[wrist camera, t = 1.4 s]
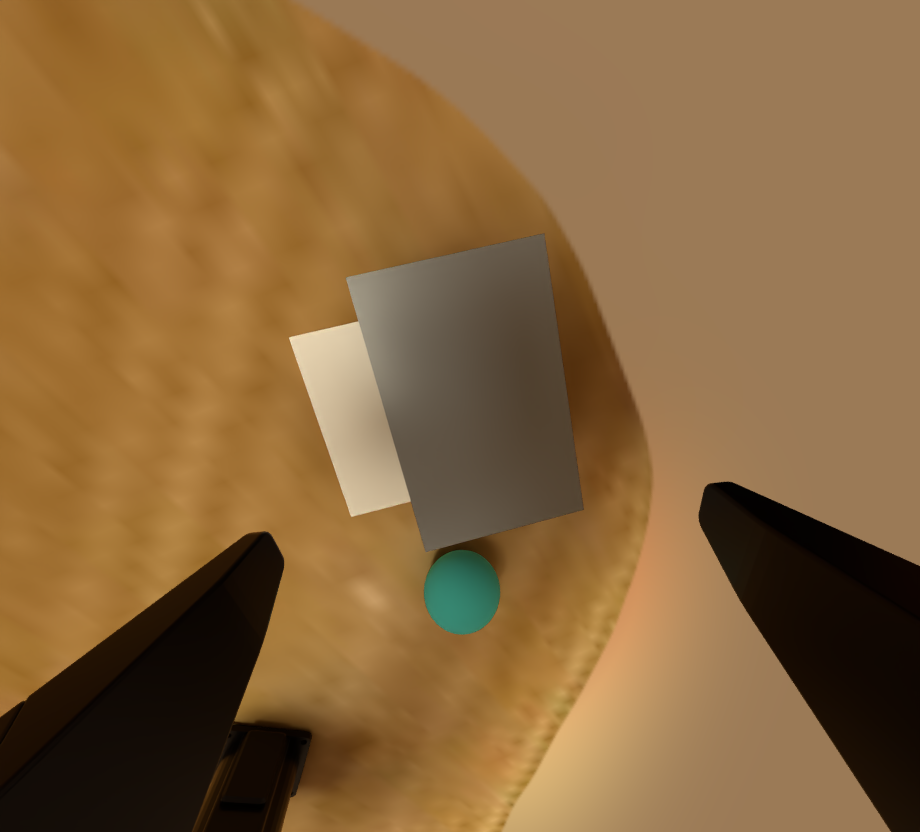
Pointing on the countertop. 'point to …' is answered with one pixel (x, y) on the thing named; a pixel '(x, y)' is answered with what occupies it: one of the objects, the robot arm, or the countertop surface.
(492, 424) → the gray rectangular prism
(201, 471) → the countertop surface
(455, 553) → the ball
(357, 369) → the white rectangular prism
